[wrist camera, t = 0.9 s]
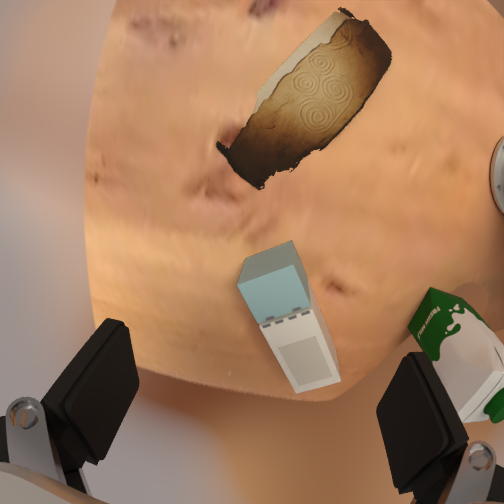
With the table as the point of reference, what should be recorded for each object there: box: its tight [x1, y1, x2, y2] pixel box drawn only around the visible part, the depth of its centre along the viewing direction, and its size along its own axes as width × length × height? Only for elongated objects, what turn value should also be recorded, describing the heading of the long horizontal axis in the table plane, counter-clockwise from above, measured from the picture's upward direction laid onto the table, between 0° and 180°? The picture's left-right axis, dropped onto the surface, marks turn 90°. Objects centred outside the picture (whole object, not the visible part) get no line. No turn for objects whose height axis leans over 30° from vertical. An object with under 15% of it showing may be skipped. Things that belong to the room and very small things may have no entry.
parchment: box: [216, 7, 392, 190], centre depth 27 cm, size 25×10×1 cm, turn 141°
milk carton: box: [408, 287, 504, 423], centre depth 26 cm, size 9×9×20 cm
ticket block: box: [259, 280, 341, 394], centre depth 35 cm, size 6×12×7 cm, turn 25°
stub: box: [237, 240, 311, 324], centre depth 32 cm, size 6×5×7 cm
